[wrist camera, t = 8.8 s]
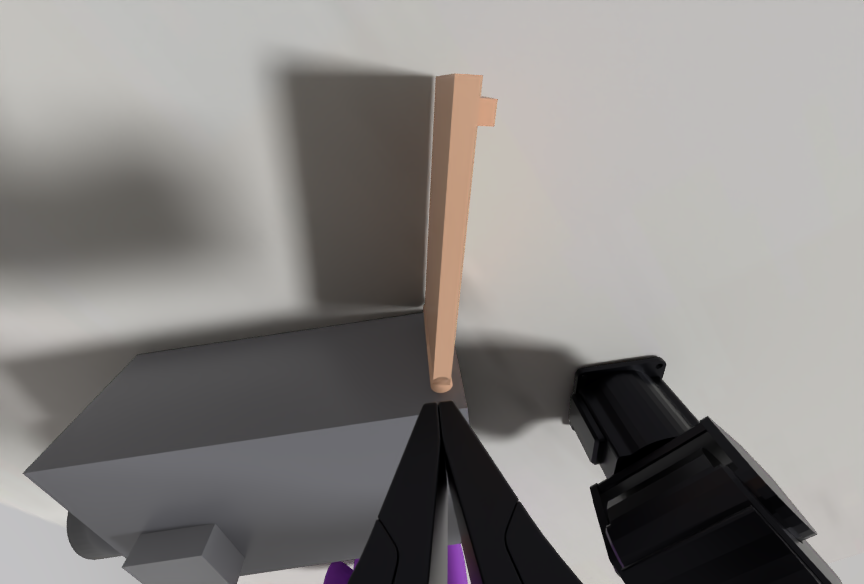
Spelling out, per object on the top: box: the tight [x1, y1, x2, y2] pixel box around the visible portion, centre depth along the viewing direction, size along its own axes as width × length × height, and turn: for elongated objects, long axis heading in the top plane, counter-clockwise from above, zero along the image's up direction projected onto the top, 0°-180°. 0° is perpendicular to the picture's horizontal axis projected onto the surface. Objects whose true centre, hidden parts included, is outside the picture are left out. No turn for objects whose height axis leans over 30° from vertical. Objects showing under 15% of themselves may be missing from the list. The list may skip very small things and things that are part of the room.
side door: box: [423, 74, 498, 393], centre depth 16 cm, size 12×2×6 cm, turn 177°
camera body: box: [23, 313, 469, 584], centre depth 22 cm, size 23×12×10 cm, turn 97°
